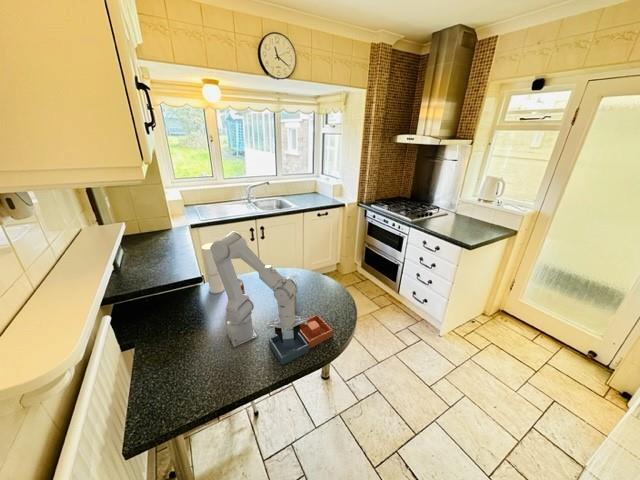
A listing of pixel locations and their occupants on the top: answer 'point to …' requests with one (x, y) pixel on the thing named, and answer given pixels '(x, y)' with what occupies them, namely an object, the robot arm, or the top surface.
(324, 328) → the terracotta bin
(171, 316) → the top surface
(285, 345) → the slate block
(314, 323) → the terracotta block
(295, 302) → the kitchen whisk
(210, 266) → the cylindrical container
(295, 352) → the slate bin
